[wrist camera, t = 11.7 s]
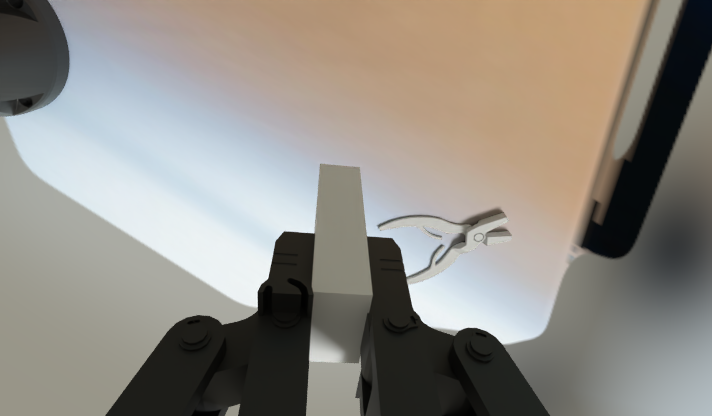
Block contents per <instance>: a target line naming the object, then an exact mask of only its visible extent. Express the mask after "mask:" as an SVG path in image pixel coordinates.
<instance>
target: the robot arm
mask: <svg viewBox="0 0 712 416" xmlns="http://www.w3.org/2000/svg"><path fill="white" fill-rule="evenodd" d="M68 72H69V50H68V45H67V40H66V37H65V34H64V31H63V28H62V26H61V24H60V21H59V19H58V17H57V15H56V14H55V12H54V10H53V9H52V7H51V5H50V4H49V2H48V1H47V0H0V116H15V115H21V114H25V113H28V112H31V111H34V110H37V109H39V108H42V107H44V106H46V105H48V104H49V103H51V102H52V101H53V100H54V99H56V97H57V96H58V95H59V94H60V93H61V91H62V89H63V88H64V86H65V83H66V80H67V77H68ZM404 271H405V269H404V264H403V259H402V255H401V250H400V248H399V247H398V245H397V244H396V243H395V241H394V240H393V239H392V238H381V237H368V236H367V234H366V224H365V215H364V205H363V195H362V185H361V176H360V167H349V166H338V165H327V164H320V173H319V184H318V196H317V208H316V220H315V233H314V234H313V233H299V232H285V231H284V232H283V233H282V235H281V236H280V237H279V238H278V239H277V240H276V242H275V248H274V253H273V258H272V264H271V268H270V273H269V278H268V280H266V281H265V282H264V283H263V284H261V286H260V288H259V290H258V311H257V312H256V313H255V314H253V315H252V316H250V317H248V318H246V319H244V320H241V321H238V322H234V323H229V324H224V325H222V324H221V323H220V322H219V321H218V320H217V319H215V318H212V317H210V316H201V315H197V316H192V317H188V318H185V319H183V320H181V321H179V322H178V323H176V324H175V325H174V326H173V327H172V328H171V329H170V330H169V331H168V332H167V333H166V335H165V336H164V337H163V339H162V340H161V341H160V343H159V344H158V345H157V347H156V348H155V350H154V351H153V352H152V354H151V355H150V356H149V357H148V359H147V360H146V362H145V363H144V364H143V366H142V367H141V368H140V370H139V371H138V372H137V374H136V375H135V376H134V378H133V379H132V380H131V382H130V383H129V384H128V386H127V387H126V389H125V390H124V391H123V393H122V394H121V395H120V397H119V398H118V399H117V401H116V402H115V403H114V405H113V406H112V408H111V409H110V410H109V411H108V413H107V414H106V416H225V414H226V412H227V410H228V407H230V406H234V405H237V404H240V409H239V414H238V416H306V405H307V404H306V403H307V388H308V371H309V370H308V369H309V361H318V362H342V363H359V358H360V354H361V373H360V377H359V382H358V387H357V392H356V398H360V414H361V416H550V415H549V414H548V412H547V411H546V409H545V408H544V406H543V405H542V403H541V402H540V400H539V399H538V397H537V396H536V394H535V393H534V391H533V390H532V388H531V387H530V385H529V384H528V382H527V381H526V379H525V378H524V376H523V375H522V373H521V372H520V371H519V369H518V367H517V366H516V364H515V363H514V361H513V360H512V359H511V357H510V355H509V354H508V352H507V351H506V350H505V348H504V346H503V345H502V344H501V343H500V342H499V341H498V339H497V338H496V337H494V336H493V335H491V334H490V333H488V332H487V331H484V330H481V329H478V328H465V329H463V330H460V331H459V332H458V333H457V334H456V335H455V336H453V335H450V334H447V333H443V332H441V331H438V330H435V329H433V328H431V327H429V326H427V325H426V324H424V323H423V322H422V321H421V319H420V317H419V315H418V314H417V313H416V312H415V311H414V310H413V307H412V303H411V298H410V294H409V289H408V284H407V279H406V274H405V272H404Z"/></svg>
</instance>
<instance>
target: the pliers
mask: <svg viewBox="0 0 712 416" xmlns="http://www.w3.org/2000/svg"><path fill="white" fill-rule="evenodd" d="M508 221H509V220H508V218H507V217H506V215H505V214H504V212H503V213H500V214H497V215H494V216H491V217H488V218H485V219H482V220H479V221H478V224H476V225H474V226H471V225H469V224H461V225H460V224H455V223H450V222H448V221H446V220H444V219H441V218H436V217H430V216H413V217H405V218H400V219H396V220H393V221H390V222H387V223H385V224H383V225H381V226H379V229H380V231H382V230H387V229H393V228H399V227H413V226H416V227H418V228H419V229H420V230H421V231H422V232H423V233H424V234H426V235H428V236H429V237H432V238H435V239H440V240H442V237H441V236H436V235H434V234H431V233H429V232H428V231H426V230H425V228H424V227H431V228H434V229H437V230H439V231H442V232H444V233H447V234H453V233H463V234H464V236H465V237H466V239H465V242H460V243H458V244H456V245H454V246H452V247H451V248H450V249H449V251H448V252H447V253H446V254H445V256H444V257H443V258H442V259H441V260H440V261H439V262H438V263H436V264H435V261H436V258H437V256H438V255H439V253H440V252H441V251H442V250H443V249H444V248H445V246H444V245H443V246H441V247H440V248H439V249H438V250H437V252H436V253H435V254H434V256H433V258H432V263H431V266H430V268H428V269H427V270H425V271H423V272H421V273H419V274H416V275H414V276H412V277H409V278H406V279H407V284H414V283H418V282H421V281H424V280H427V279H429V278H431V277H433V276H435V275H437V274H439V273H441V272H442V271H444V270H445V269H447V268H448V267H449V266H450V265H452V264H453V263H454V262H455V260H456V259H457V258H458V256H459V255H460V254H464V253H468V252H470V251H472V250H474V249H476V247H477V246H478V244H479V243H484V244H485V245H487V246H488V245H492V244H497V243H501V242H506V241H510V240H511V239H512V235H511V234H510V232H509V231H503V232H489V231H490V230H492V229H494V228H496V227H498V226H500V225H502V224H504V223H506V222H508Z"/></svg>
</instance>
